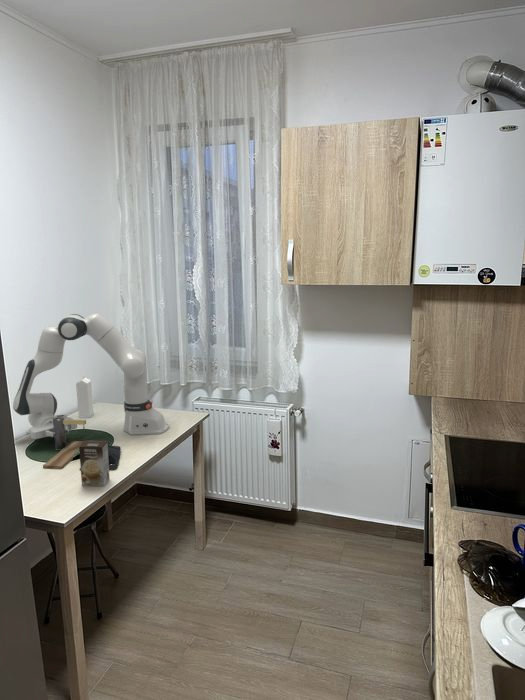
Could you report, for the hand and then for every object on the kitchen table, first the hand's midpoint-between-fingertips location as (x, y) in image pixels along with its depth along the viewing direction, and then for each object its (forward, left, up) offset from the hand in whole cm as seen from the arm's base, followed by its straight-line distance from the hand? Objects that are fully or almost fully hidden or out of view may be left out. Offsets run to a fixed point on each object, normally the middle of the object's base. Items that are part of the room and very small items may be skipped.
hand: (60, 433), depth 220 cm
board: (-6, +6, -8) cm, 12 cm away
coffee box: (-29, +29, -8) cm, 42 cm away
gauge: (-4, -1, -8) cm, 9 cm away
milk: (+9, -44, -8) cm, 45 cm away
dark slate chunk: (-24, +10, -8) cm, 27 cm away
